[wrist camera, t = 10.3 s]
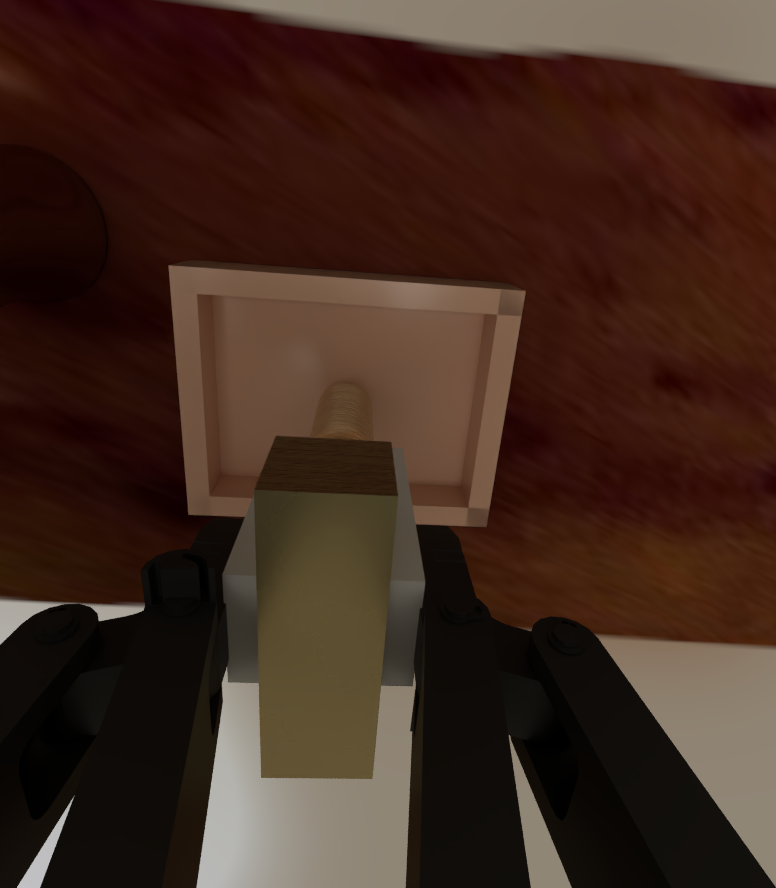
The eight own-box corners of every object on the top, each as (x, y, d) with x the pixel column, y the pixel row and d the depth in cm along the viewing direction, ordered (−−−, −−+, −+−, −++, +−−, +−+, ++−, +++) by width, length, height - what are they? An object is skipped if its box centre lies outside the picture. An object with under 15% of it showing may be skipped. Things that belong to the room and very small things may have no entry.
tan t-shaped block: (319, 327, 22) (253, 489, 9) (377, 331, 22) (398, 496, 9) (315, 478, 25) (260, 777, 12) (367, 481, 25) (372, 778, 12)
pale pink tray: (206, 484, 28) (188, 514, 25) (191, 259, 23) (168, 265, 21) (474, 497, 28) (486, 526, 26) (507, 282, 24) (525, 290, 21)
